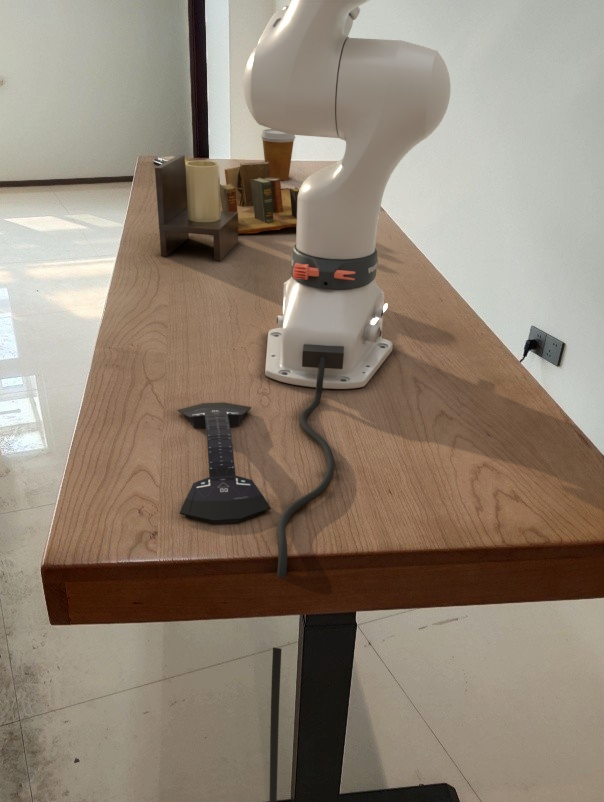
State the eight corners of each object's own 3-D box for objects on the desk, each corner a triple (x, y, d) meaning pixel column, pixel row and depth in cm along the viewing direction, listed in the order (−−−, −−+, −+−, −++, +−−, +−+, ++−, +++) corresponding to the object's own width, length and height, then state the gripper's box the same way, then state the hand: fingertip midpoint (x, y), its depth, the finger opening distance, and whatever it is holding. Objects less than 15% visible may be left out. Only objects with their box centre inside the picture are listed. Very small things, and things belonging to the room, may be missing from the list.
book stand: (322, 236, 159) (317, 161, 150) (214, 251, 157) (203, 176, 148) (292, 196, 187) (287, 132, 178) (200, 209, 185) (190, 144, 176)
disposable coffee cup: (301, 178, 209) (302, 131, 202) (278, 183, 203) (279, 135, 196) (276, 173, 214) (277, 127, 207) (253, 177, 208) (253, 130, 201)
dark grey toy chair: (220, 261, 142) (217, 172, 133) (160, 255, 144) (154, 167, 135) (238, 242, 154) (237, 159, 145) (183, 237, 155) (179, 154, 146)
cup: (215, 223, 142) (213, 167, 137) (183, 221, 143) (180, 165, 138) (224, 215, 148) (223, 161, 142) (193, 213, 148) (191, 159, 143)
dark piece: (250, 405, 93) (249, 381, 91) (272, 521, 73) (272, 493, 71) (177, 408, 92) (176, 383, 90) (180, 526, 72) (177, 498, 70)
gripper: (269, -5, 131) (236, 69, 133) (343, -19, 117) (306, 64, 119) (292, 19, 136) (260, 91, 137) (367, 9, 122) (330, 89, 123)
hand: (282, 78), depth 128 cm, fingers open, 8 cm apart
